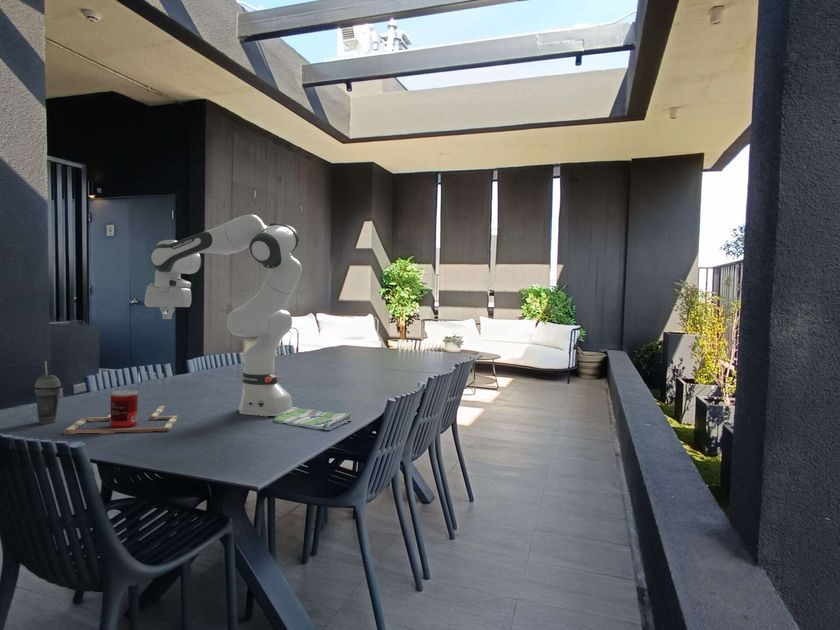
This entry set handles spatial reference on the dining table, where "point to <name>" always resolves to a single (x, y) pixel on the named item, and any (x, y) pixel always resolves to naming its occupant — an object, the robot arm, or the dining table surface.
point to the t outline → (153, 417)
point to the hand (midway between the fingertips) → (167, 319)
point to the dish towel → (304, 418)
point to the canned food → (124, 408)
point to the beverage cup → (47, 397)
